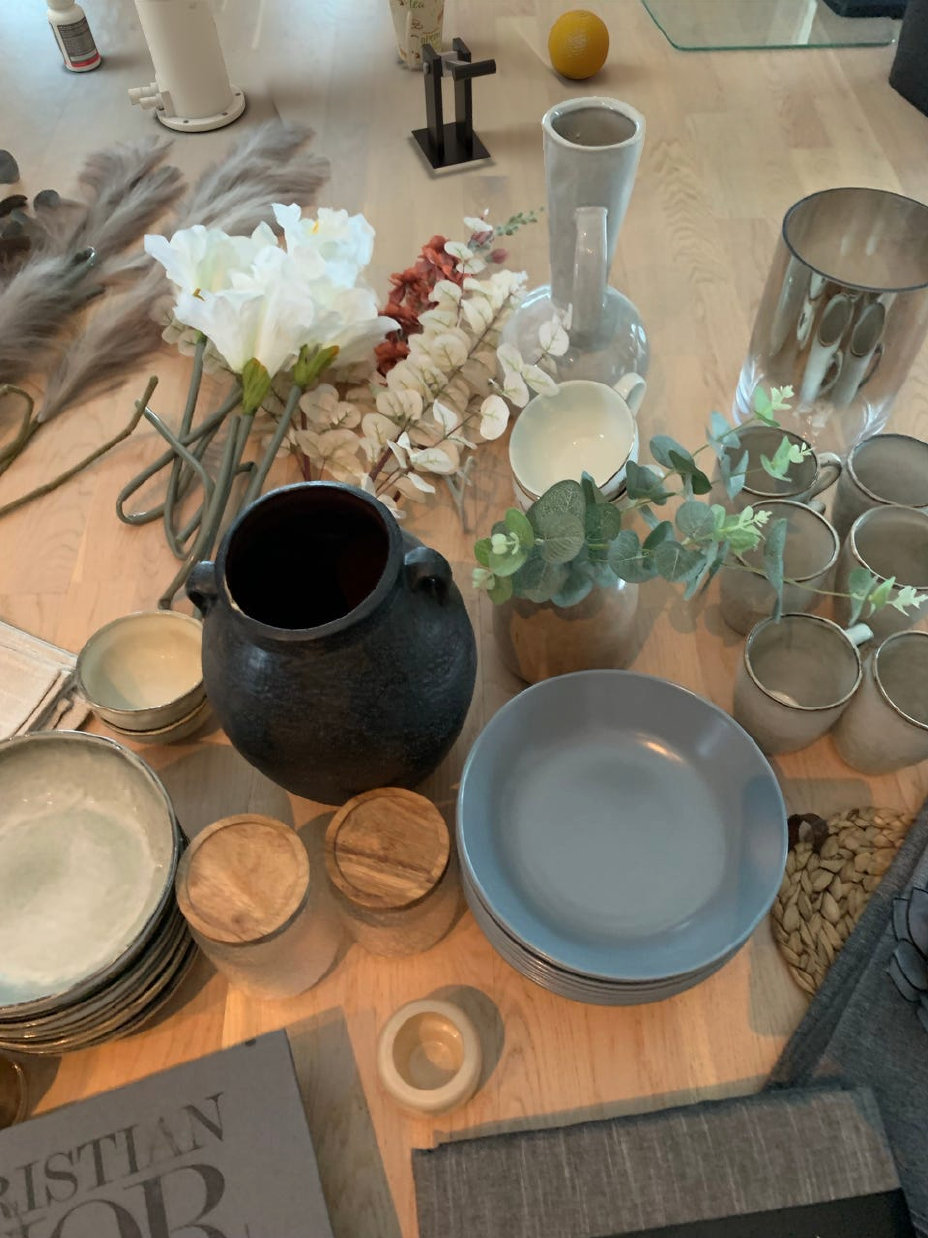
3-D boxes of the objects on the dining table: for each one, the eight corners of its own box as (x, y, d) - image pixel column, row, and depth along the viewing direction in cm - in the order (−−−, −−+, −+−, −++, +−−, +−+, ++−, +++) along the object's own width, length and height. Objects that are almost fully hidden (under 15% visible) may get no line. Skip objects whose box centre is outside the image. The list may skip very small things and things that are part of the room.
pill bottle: (108, 59, 134) (83, -14, 126) (87, 75, 131) (60, 1, 123) (80, 53, 135) (53, -19, 127) (59, 69, 132) (30, -4, 124)
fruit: (595, 57, 130) (600, -4, 123) (614, 82, 126) (620, 21, 119) (539, 66, 129) (542, 5, 122) (556, 92, 125) (560, 30, 118)
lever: (497, 78, 100) (495, 53, 98) (456, 86, 99) (453, 62, 97) (463, 70, 110) (461, 48, 108) (426, 77, 109) (423, 55, 107)
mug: (450, 48, 133) (448, -28, 124) (441, 89, 126) (438, 11, 118) (397, 47, 133) (391, -29, 125) (385, 87, 127) (378, 10, 118)
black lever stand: (490, 164, 115) (490, 60, 104) (434, 176, 113) (427, 72, 103) (466, 127, 120) (463, 24, 109) (411, 139, 119) (403, 36, 108)
